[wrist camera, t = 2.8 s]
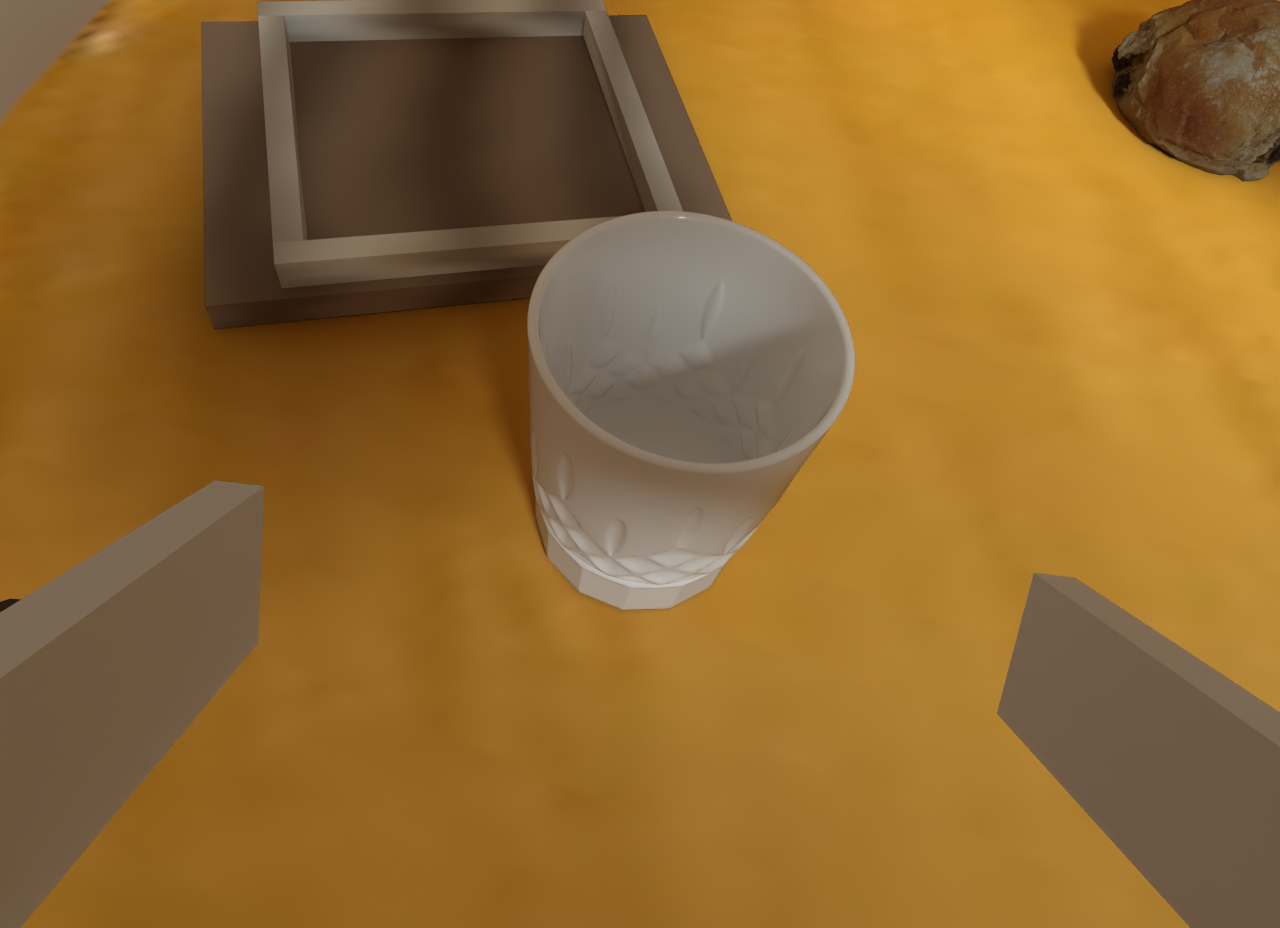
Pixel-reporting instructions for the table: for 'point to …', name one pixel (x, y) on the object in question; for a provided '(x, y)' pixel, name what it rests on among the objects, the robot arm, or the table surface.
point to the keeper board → (427, 150)
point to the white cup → (673, 398)
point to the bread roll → (1206, 84)
